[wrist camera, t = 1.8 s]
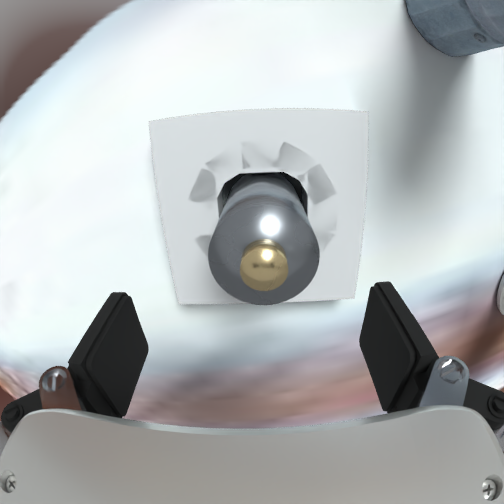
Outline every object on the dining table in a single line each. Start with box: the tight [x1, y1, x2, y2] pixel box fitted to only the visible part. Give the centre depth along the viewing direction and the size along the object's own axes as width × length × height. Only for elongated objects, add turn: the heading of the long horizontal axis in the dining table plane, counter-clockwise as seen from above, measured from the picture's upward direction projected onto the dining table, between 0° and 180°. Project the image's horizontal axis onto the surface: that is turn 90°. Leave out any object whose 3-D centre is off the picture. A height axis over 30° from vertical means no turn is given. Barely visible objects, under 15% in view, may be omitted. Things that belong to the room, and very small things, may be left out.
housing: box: [149, 108, 369, 304], centre depth 23 cm, size 16×16×3 cm
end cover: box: [208, 172, 320, 305], centre depth 19 cm, size 6×6×11 cm
